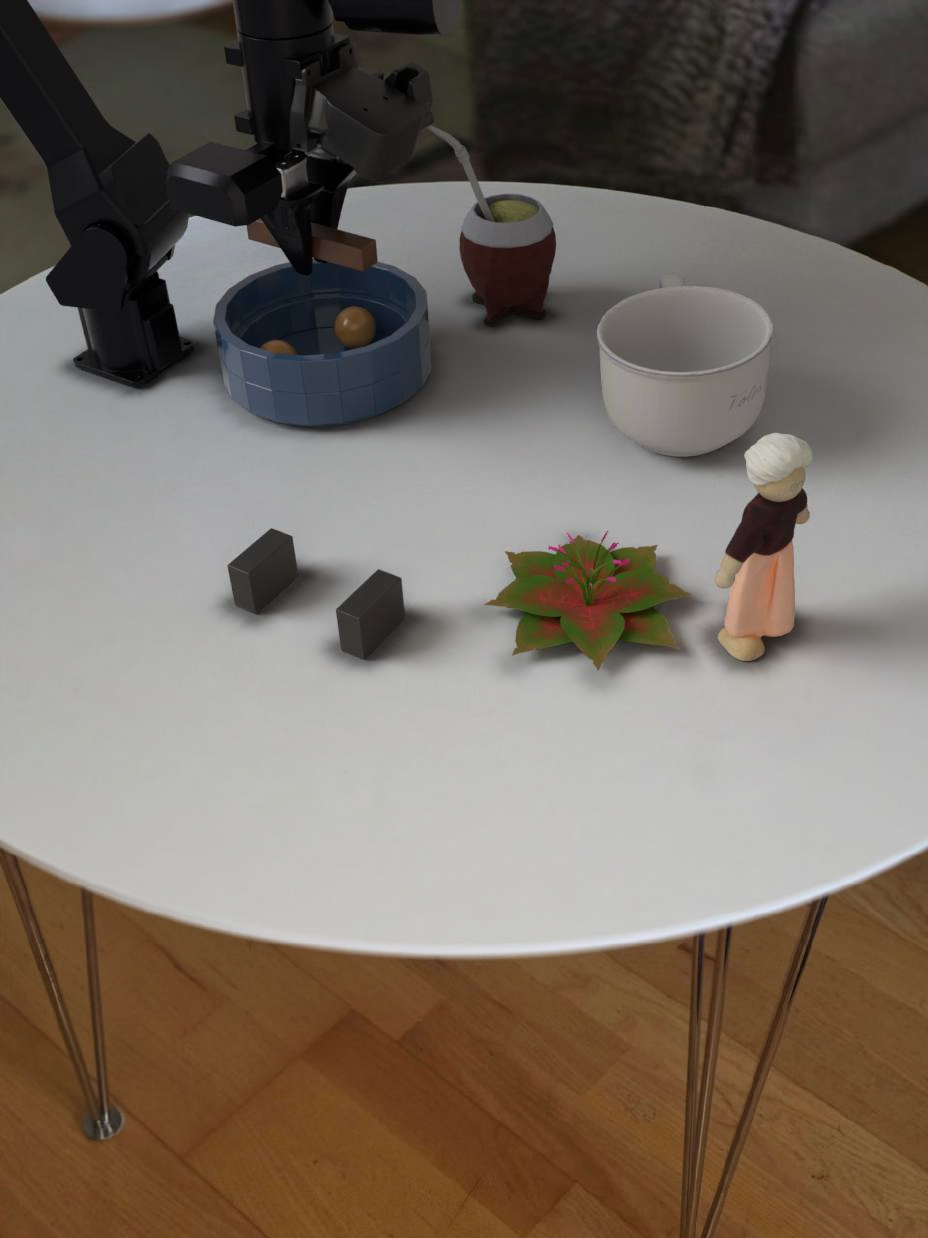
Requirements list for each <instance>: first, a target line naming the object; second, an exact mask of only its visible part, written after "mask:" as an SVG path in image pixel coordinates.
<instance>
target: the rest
mask: <svg viewBox="0 0 928 1238" xmlns="http://www.w3.org/2000/svg"><path fill="white" fill-rule="evenodd" d="M294 543H295V542H294V537H293V535H291V534H288V533H285V532H283V531H280V530H278V529H276V528H273V527H271V528H269V529H268V530H267V531H266V532H265V533H264V534H262V535H260V536H259V538H257V539H256V540H255V541H254V542H253V543H252V544H250V545H249V546H248V547H247V548H245V550H244V551H242V552H241V553H240V554H239V555H237V556H236V557H235V558H234V559H233V560H231V562H229V563H228V564H227V565H226V566H227V567H226V568H227V572H228V576H229V582H230V586H231V587H230V588H231V592H232V596H233V602H234V605H235V607H238V608H241V609H243V610H244V611H247V612H250V613H252V614H254V615H255V614H256V615H257V614H259V612H260V611H261V610H263V609H264V608H265V607H266V606H267V605H268V604H269V603H270V602H271V601H273V600H274V599H275V598H276V597H277V596H278V595H279V594H280V593H281V592H282V591H284V590H285V589H286V588H287V587H288V586H289V585H290V584H291V583H293V582H294V581H295V580H296V579H297V578H298V577H299V570H298V563H297V556H296V551H295V544H294ZM335 614H336V622H337V630H338V636H339V644H340V651H342V652H344V653H346V654H349V655H351V656H354V657H356V658H358V659H361V660H366V659H367V658H368V657H369V656H370V655H371V654H372V653H373V652H374V651H375V650H376V649H377V648H378V646H380V645H381V644H382V643H383V642H384V641H385V640H386V639H387V638H388V637H389V636H390V634H392V632H393V631H394V630H395V629H396V628H397V627H398V626H400V624H401V623H403V621H404V620H405V619H406V613H405V602H404V590H403V579H402V577H400V576H397V575H395V574H393V573H390V572H387V571H385V570H382V569H381V568H378V569H376V570H375V572H373V573H372V574H371V575H370V576H369V577H368V578H367V579H366V580H365V581H363V583H362V584H360V586H359V587H358V588H356V589H355V590H354V591H353V592H352V594H350V595H349V596H348V597H347V598H346V599H345V600H344V601H343V602H342V603H341V604H340V605H339V606H337V608H335Z"/></svg>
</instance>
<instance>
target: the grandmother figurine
mask: <svg viewBox="0 0 928 1238" xmlns="http://www.w3.org/2000/svg"><path fill="white" fill-rule="evenodd" d="M743 457H744V459H745V462H746V463H745V467H746V472H747V478H748V479H749V480H750V482H751V483H753V486H754V488H755V490H756V491H757V492H758V493H757V494H756V495H755V496H754V497H753V498H752V499H751V500H750V501H749V502H748V503H746V506H745V507H744V509H743V512H742V515H741V521H740V523H739V524H738V526H737V528H736V530H735V532H734V533H733V534H732V537H731V539H730V540H729V543H728V544H727V545H726V548H725V551H724V554H723V557H722V560H721V562H720V567H719V568H720V569H718V570H717V572H716V573H715V575H714V584H715V585H716V586H717V587H718V588H720V589H724V590H725V589H730V591H729V596H728V603H727V607H726V613H725V618H724V622H723V623H724V627H723V628H722V629H721V630H720V631H719V632H718V633H717V640H718V642H719V643H720V645H721V646H722V647H723V648H724V649H725V650H726V651H727V652H728V654H729V655H730V656H731V657H733V658H734V659H735V660H739V661H741V662H751V661H755V660H757V659H759V658H761V656H763V655H764V653H765V648H766V647H765V643H764V641H763V640H762V637H763V636H764V637H766V638H767V637H768V638H777V637H782V636H785V635H786V634H788V633H790V632H791V631H792V630H793V628H794V626H795V616H796V615H795V614H796V584H795V582H796V581H795V554H794V553H795V552H794V551H795V550H794V543H793V539H794V537H795V536H794V535H795V528H796V525H803V524H806V523H807V522H808V521H809V520H810V517H811V515H810V514H811V513H810V510H809V507H808V494H807V493H806V491H805V489H804V488H803V487H804V485H805V483H806V468H807V467H808V466H809V465H810V464H811V463H812V461H813V458H814V456H813V450H812V448H811V446H810V445H809V444H808V442H806V441H805V440H802V439H801V438H798V437H796V436H795V435H793V434H790V433H789V434H788V433H781V432H780V433H779V432H772V433H770V434H765V435H763V436H762V437H761V438H759V439H758V440H757V442H755V444H753V445H751V446H750V448H749V449H747V450H746V451H745V452H744V456H743Z"/></svg>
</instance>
